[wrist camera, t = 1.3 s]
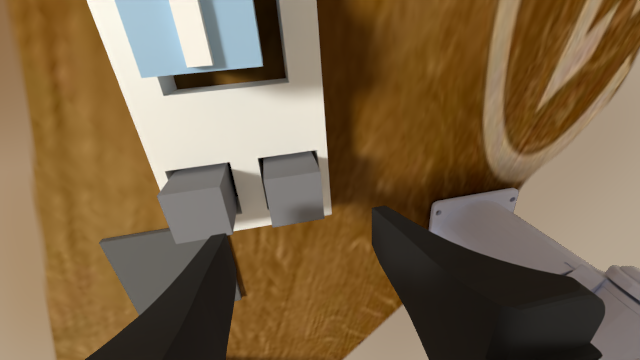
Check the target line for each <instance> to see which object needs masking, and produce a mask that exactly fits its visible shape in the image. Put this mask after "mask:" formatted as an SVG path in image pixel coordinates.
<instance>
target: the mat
mask: <svg viewBox="0 0 640 360" xmlns="http://www.w3.org/2000/svg"><path fill="white" fill-rule="evenodd" d="M207 240H208V239H203V240H197V241H192V242H186V243H180V244H176V243H175V240H174V238H173V235H172V233H171V230H170V228H167V229H161V230H155V231H149V232H143V233H137V234H131V235H125V236H119V237H113V238H107V239H102V240H101V241H100V242H99V244H100V246H101V247H102V249H103V251H104V253H105V255H106V256H107V258H108V260H109V262H110V264H111V265H112V267H113V269H114V271H115V273H116V274H117V276H118V278H119V280H120V282H121V283H122V285H123V287H124V289H125V291H126V292H127V294H128V296H129V298H130V300H131V301H132V303H133V305H134V307H135V309H136V310H137V312H138V314H139V315H141V314H142V313H143V312H144V311H145V310H146V309H147V308H148V307H149V306H150V305H151V304H152V303H153V302H154V301H155V300H156V299H157V298H158V297H159V296H160V295H161V294H162V293H163V292H164V291H165V290H166V289H167V288H168V287H169V286H170V285H171V284H172V282H173V281H174V280H175V279H176V278H177V277H178V276H179V275H180V273H181V272H182V271H183V270H184V269H185V267H186V266H187V265H188V264H189V263H190V261H191V260H192V259H193V258H194V256H195V255H196V254H197V253H198V251H199V250H200V249H201V247H202V246H203V245H204V244H205V242H206V241H207ZM237 300H241V292H240V289H239V286H238V282H237V279H236V294H235V301H237Z"/></svg>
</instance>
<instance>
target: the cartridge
mask: <svg viewBox="0 0 640 360" xmlns="http://www.w3.org/2000/svg"><path fill="white" fill-rule="evenodd" d="M115 3H116V6H117V9H118V12H119V15H120V18H121V20H122V23H123V26H124V29H125V32H126V35H127V38H128V41H129V43H130V46H131V49H132V52H133V55H134V58H135V61H136V64H137V66H138V69H139V72H140V75H141V78H147V77H158V76H168V75H178V74H189V73H199V72H209V71H220V70H230V69H240V68H251V67H261V66H263V56H262V50H261V43H260V37H259V31H258V24H257V18H256V12H255V5H254V0H115Z"/></svg>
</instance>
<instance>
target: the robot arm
mask: <svg viewBox="0 0 640 360" xmlns="http://www.w3.org/2000/svg"><path fill="white" fill-rule="evenodd" d="M518 193H519V191H518V190H517V189H515V188H508V189H503V190H497V191H491V192H485V193H480V194H474V195H468V196H462V197H457V198H451V199H445V200H439V201H436V202H434V203H433V204H432V207H431V215H430V223H429V230H427V229H425V228H423V227H421V226H419V225H418V224H416V223H414V222H412V221H411V220H409V219H407V218H406V217H404V216H402V215H401V214H399V213H397V212H396V211H394V210H392V209H390V208H389V207H387V206H380V207H374V208H372V246H373V248H374V251H375V253H376V256H377V258H378V260H379V263H380V265H381V266H382V268H383V270H384V272H385V273H386V275H387V277H388V279H389V280H390V282H391V284H392V286H393V287H394V289H395V291H396V292H397V294H398V296H399V298H400V299H401V301H402V303H403V304H404V306H405V308H406V310H407V312H408V314H409V316H410V318H411V320H412V322H413V325H414V327H415V329H416V331H417V333H418V336H419V338H420V340H421V342H422V345H423V347H424V349H425V351H426V354H427V356H428V358H429V360H640V269H639V268H636V267H634V266H621V267H619V266H616V265H612V266H610V267H609V269H608V270H607V271H606V272H603V271H601V270H598V269H597V268H595V267H593V266H592V265H590V264H589V263H588V262H586V261H585V260H583V259H582V258H580V257H579V256H577V255H575V254H574V253H572V252H571V251H569V250H568V249H566V248H565V247H563V246H562V245H560V244H559V243H557V242H556V241H554V240H553V239H551V238H550V237H548V236H547V235H545V234H543V233H542V232H541V231H539V230H538V229H536V228H535V227H533V226H532V225H530V224H529V223H527V222H526V221H524V220H523V219H521V218H520V217H518V216H517V215H515V214H514V213H513V211H514V208H515V204H516V201H517V197H518ZM437 211H438V212H437ZM436 212H437V213H436ZM235 294H236V266H235V263H234V259H233V256H232V252H231V249H230V245H229V242H228V238H227V235H226V233H223V234H217V235H211V236H210V237H209V239H208V240H207V241H206V242H205V244H204V245H203V246H202V247H201V249H200V250H199V251H198V253H197V254H196V255H195V256H194V258H193V259H192V260H191V261H190V263H189V264H188V265H187V266H186V267H185V269H184V270H183V271H182V272H181V273H180V275H179V276H178V277H177V278H176V279H175V280H174V281H173V282H172V284H171V285H170V286H169V287H168V288H167V289H166V290H165V291H164V292H163V293H162V294H161V295H160V296H159V297H158V298H157V299H156V300H155V301H154V302H153V303H152V304H151V305H150V306H149V307H148V308H147V309H146V310H145V311H144V312H143V313H142V314H141V315H139V316H138V317H137V318H136V319H135V320H134V321H133V322H131V323H130V324H129V325H128V326H127V327H125V328H124V329H123V330H122V331H121V332H120V333H118V334H117V335H116V336H115V337H114V338H112V339H111V340H110V341H109V342H107V343H106V344H105V345H103V346H102V347H101V348H100V349H98V350H97V351H96V352H94V353H93V354H92V355H90V356H89V357H88V358H86V359H85V360H226V352H227V344H228V338H229V332H230V326H231V320H232V313H233V307H234V301H235Z"/></svg>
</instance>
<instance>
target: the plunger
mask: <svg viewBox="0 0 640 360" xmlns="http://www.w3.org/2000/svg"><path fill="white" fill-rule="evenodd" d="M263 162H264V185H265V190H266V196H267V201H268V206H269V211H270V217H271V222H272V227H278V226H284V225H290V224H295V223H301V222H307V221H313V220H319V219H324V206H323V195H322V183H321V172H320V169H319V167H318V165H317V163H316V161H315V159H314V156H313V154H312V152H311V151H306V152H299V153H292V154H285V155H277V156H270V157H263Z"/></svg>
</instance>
